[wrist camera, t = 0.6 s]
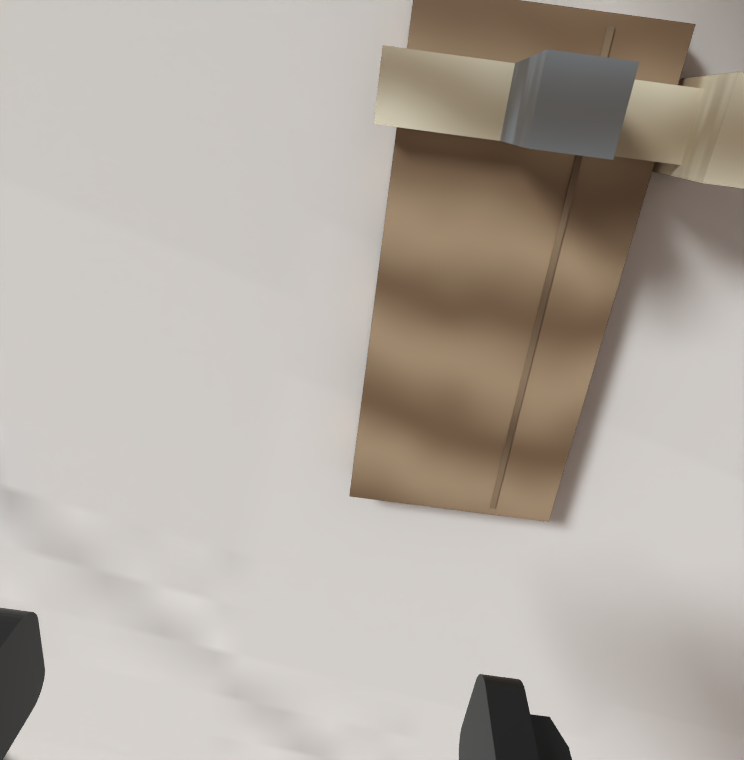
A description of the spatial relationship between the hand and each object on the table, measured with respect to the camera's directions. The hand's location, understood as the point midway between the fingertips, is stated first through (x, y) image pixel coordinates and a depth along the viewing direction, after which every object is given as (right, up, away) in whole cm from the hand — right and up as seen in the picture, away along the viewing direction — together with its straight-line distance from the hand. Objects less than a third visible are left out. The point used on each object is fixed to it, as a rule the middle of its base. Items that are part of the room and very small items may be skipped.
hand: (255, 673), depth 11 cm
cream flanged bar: (+10, +18, +18) cm, 27 cm away
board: (+8, +10, +22) cm, 25 cm away
